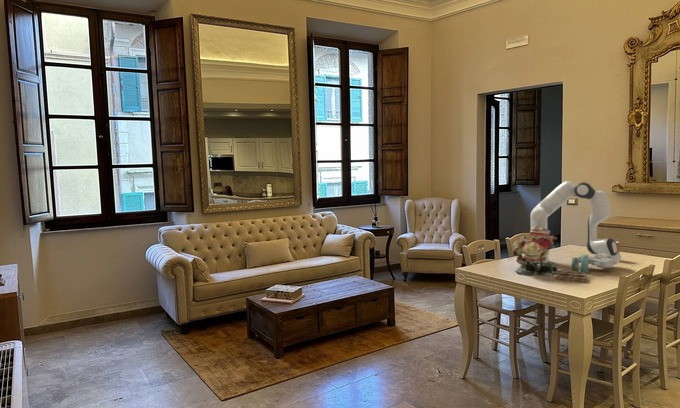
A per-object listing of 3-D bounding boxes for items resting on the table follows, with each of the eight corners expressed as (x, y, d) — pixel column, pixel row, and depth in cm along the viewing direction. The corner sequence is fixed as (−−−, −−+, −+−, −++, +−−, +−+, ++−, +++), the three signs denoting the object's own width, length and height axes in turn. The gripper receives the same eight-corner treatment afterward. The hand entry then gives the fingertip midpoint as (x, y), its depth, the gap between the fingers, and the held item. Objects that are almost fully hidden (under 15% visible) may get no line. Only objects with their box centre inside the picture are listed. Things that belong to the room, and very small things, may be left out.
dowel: (580, 272, 302) (581, 255, 301) (581, 271, 306) (581, 254, 305) (587, 273, 300) (588, 256, 299) (588, 271, 304) (588, 255, 303)
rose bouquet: (510, 266, 324) (511, 223, 321) (557, 269, 313) (558, 224, 310) (509, 275, 300) (509, 228, 297) (559, 278, 289) (560, 229, 286)
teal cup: (558, 274, 299) (559, 258, 298) (559, 272, 305) (560, 255, 304) (580, 276, 293) (580, 259, 292) (580, 273, 299) (581, 257, 298)
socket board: (556, 279, 285) (556, 275, 285) (558, 276, 294) (558, 272, 294) (586, 282, 278) (586, 278, 277) (587, 278, 286) (587, 274, 286)
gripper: (586, 253, 318) (572, 255, 312) (615, 258, 300) (601, 260, 294) (586, 262, 319) (572, 264, 313) (615, 268, 300) (601, 270, 294)
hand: (586, 262), depth 303 cm, fingers open, 8 cm apart
